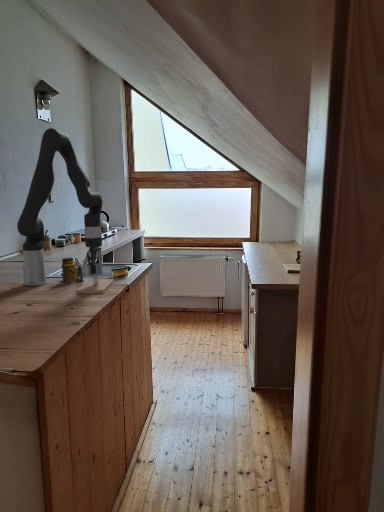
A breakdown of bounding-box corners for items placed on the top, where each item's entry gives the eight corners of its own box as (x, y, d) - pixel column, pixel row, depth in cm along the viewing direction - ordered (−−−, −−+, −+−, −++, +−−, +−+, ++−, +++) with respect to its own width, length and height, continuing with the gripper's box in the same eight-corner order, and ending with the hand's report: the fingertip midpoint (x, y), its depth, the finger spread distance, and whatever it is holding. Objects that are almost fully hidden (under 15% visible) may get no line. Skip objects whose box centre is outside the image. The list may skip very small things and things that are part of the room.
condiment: (78, 282, 180) (76, 258, 178) (60, 284, 175) (58, 260, 173) (74, 279, 186) (72, 256, 184) (57, 281, 181) (55, 258, 179)
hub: (87, 274, 165) (86, 264, 164) (91, 271, 171) (90, 261, 170) (100, 274, 165) (99, 264, 164) (103, 271, 171) (103, 261, 170)
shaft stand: (76, 293, 160) (75, 279, 159) (90, 282, 179) (89, 269, 177) (103, 293, 160) (102, 279, 158) (114, 282, 178) (113, 269, 177)
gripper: (90, 234, 172) (92, 268, 175) (79, 238, 158) (82, 275, 161) (105, 234, 172) (107, 268, 175) (96, 238, 157) (99, 275, 161)
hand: (95, 271), depth 168 cm, fingers closed on hub, 6 cm apart
